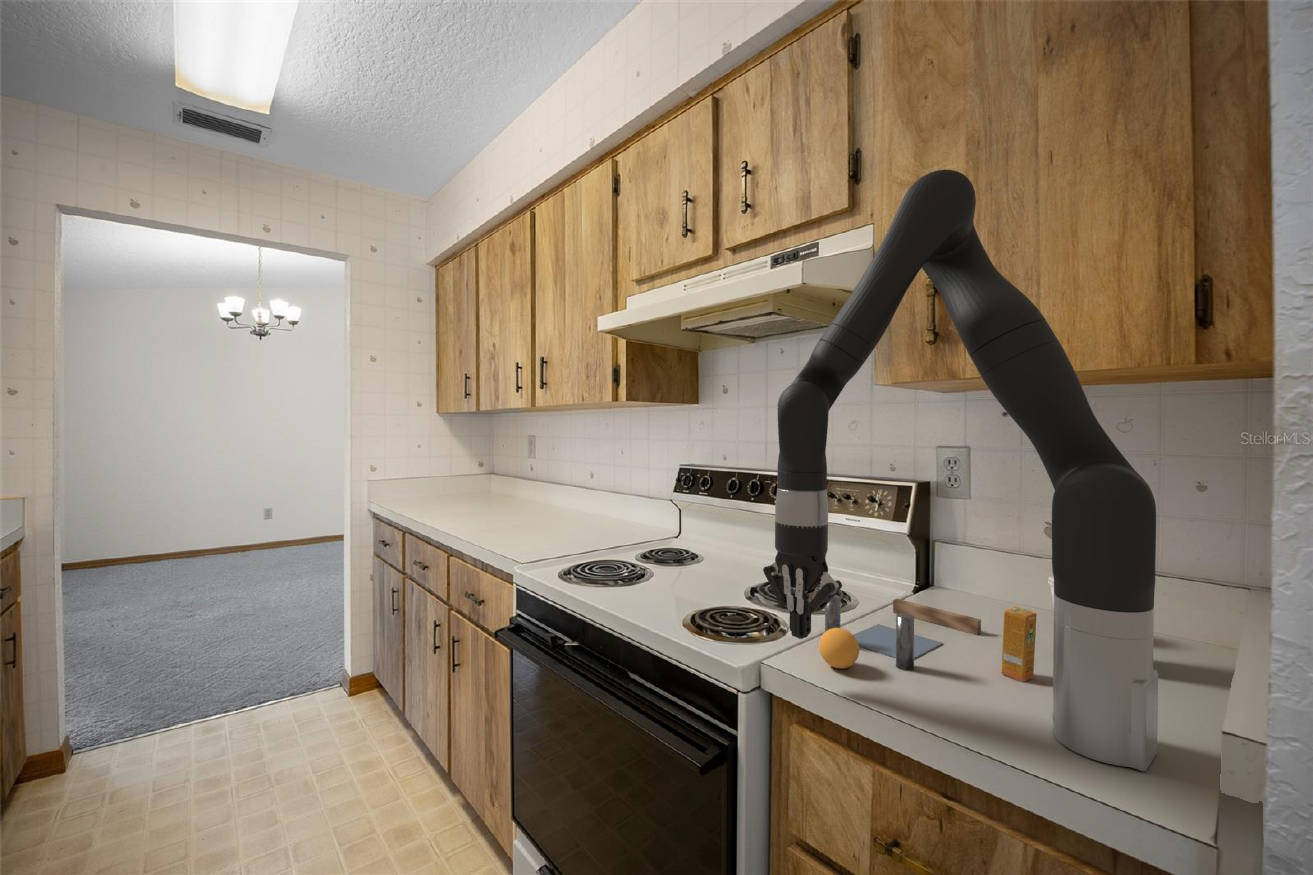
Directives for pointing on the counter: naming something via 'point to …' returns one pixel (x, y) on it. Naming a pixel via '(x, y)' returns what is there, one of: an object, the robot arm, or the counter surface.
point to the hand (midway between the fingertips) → (799, 636)
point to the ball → (839, 648)
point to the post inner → (905, 641)
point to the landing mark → (891, 641)
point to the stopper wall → (938, 616)
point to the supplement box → (1018, 643)
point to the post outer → (832, 613)
